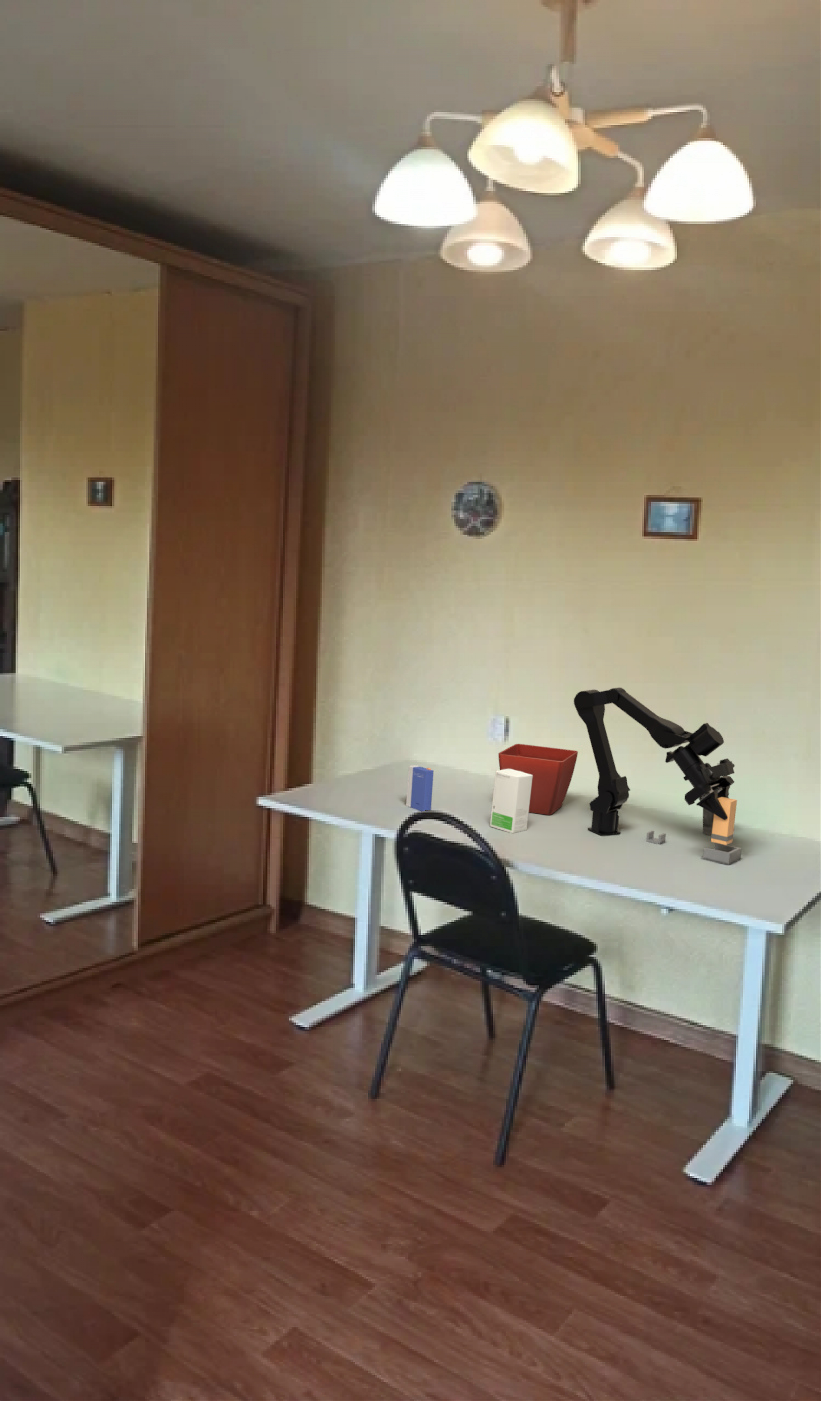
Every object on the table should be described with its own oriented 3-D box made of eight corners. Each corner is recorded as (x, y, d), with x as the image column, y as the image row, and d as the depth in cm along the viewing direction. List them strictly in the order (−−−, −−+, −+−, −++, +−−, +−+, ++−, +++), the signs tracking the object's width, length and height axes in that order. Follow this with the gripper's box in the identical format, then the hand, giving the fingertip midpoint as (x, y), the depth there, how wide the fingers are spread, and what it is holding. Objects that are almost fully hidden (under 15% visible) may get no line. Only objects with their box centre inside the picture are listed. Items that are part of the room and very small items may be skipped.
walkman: (431, 810, 317) (433, 769, 315) (423, 811, 315) (426, 770, 313) (413, 804, 323) (416, 763, 321) (405, 805, 321) (408, 764, 319)
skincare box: (489, 827, 303) (493, 770, 300) (504, 823, 308) (508, 767, 305) (513, 833, 297) (518, 776, 295) (529, 830, 302) (533, 773, 300)
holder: (700, 858, 284) (701, 847, 284) (712, 853, 290) (713, 842, 289) (728, 865, 280) (729, 853, 279) (739, 859, 285) (741, 848, 285)
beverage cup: (725, 832, 313) (733, 762, 310) (724, 838, 306) (731, 766, 303) (698, 828, 315) (706, 758, 312) (696, 834, 308) (703, 763, 305)
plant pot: (492, 810, 322) (497, 752, 320) (512, 797, 340) (516, 742, 337) (557, 820, 315) (562, 761, 313) (574, 806, 333) (579, 751, 330)
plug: (710, 841, 284) (715, 799, 282) (717, 838, 287) (721, 796, 285) (726, 845, 281) (730, 802, 280) (732, 842, 285) (737, 799, 283)
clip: (660, 844, 295) (660, 835, 295) (646, 841, 298) (647, 832, 297) (665, 842, 298) (665, 833, 297) (651, 839, 300) (652, 830, 300)
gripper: (701, 753, 276) (739, 805, 271) (730, 744, 290) (767, 794, 285) (668, 778, 282) (705, 830, 277) (698, 769, 296) (734, 818, 291)
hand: (729, 817), depth 282 cm, fingers closed on plug, 4 cm apart
